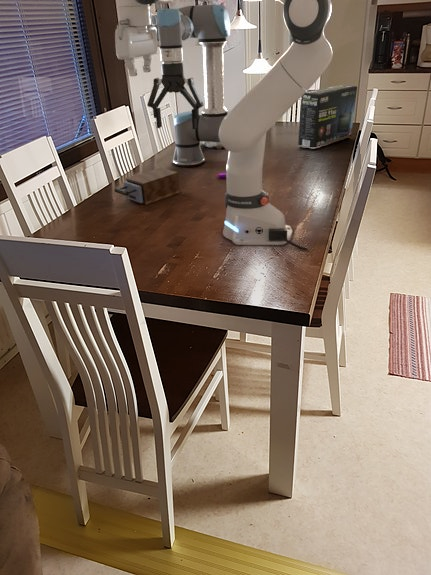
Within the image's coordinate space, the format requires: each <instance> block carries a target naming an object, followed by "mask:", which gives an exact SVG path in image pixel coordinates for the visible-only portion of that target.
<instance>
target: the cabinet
mask: <svg viewBox="0 0 431 575" xmlns="http://www.w3.org/2000/svg"><path fill="white" fill-rule="evenodd" d="M179 178H180V177H179V172H178V171H174V170H172V169H167V168H164V167H157V168H154V169H152V170H151V169H150V170H148V171H145V172H142V173H138V174H135V175H131V176H128V177H126V178H125V181H127V182H133V183H137V184H140V185H142V189H143V197H144V200H143V203H141V204H142V205H144V206H145V205H149V204H152V203H155V202H158V201H161V200H163V199H167V198H168V197H172V196H174V195H176V194H177V195H178V194H180V193H181V189H180V179H179Z"/></svg>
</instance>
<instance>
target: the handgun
mask: <svg viewBox="0 0 431 575" xmlns="http://www.w3.org/2000/svg"><path fill="white" fill-rule="evenodd" d="M217 178H218V179H226V172H225V173H224V172H223V173H221V172H220V173H217Z"/></svg>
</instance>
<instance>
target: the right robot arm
mask: <svg viewBox="0 0 431 575" xmlns="http://www.w3.org/2000/svg"><path fill="white" fill-rule="evenodd" d="M244 1H248V2H257V1H259V2H260V1H261V0H244ZM276 1H278V2H280V3H281V4H283V7H282V8H283V9H282V16H283V20H284V24H285V26H286V28H287V31H288V33H289V35H290V38H291V40H292V42H291V45H290V46H289V48H288V49H286V51H285V52H284V53H283V54H282V55H281V56H280V57H279V59H278V60H277V61H276V62H275V63H274V64H273V65H272V67H270V69H268V71H267V72H266V73H265V74H264V75H263V76H262V77H261V78H260V79H259V81H258V82H257V83H255V85H254V86H252V88H251V89H250V90H249V91H248V92H247V93H246V94H245V95H244V96H243V97H242V98H241V99H240V100H239V102H237V103H236V105H235V106H234V107H233V108H231V110H229V112H227V115H226V116H225V118H224V119H223V121H222V123H221V125H220V129H219V139H220V142H221V144H222V145H223V147H222V148H224V149H226V150H227V151H228V155H227V161H226V165H225V173H226V178H225V179H226V180H225V181H226V182H225V183H226V190H225V194H224V205H225V209H226V210H225V218H224V219H225V220H224V226H223V229H222V235H223V237H225V239H228V240H230V241H232V243H233V244H234V245H236V246H283V245H286V244H289V245H292V246H293V247H295V248H297V249H300V250H303V251H308V247H305V246H301V245H299V244H296V243H294V242H293V241H291V239H292V237H293V228H292V227H291V225H288V224H286V219H285V215H284V213H283V212H282V211H280V210H279V209H278V208H277V207H276V206H275V205H272V204H271V203H270V202H269V194H270V192H269V191H267V192H266V191H265V190H263V169H264V168H263V166H264V157H265V149H266V140H267V133H268V131H269V130H270V129H272V128H273V126H274V125H275V124H276V123H277V122H278V121H279V120H280V119H281V118H282V117H283V116H284V115H285V114H286V113H287V112H288V111H289V110H290V109H291V108H292V107H293V106H294V105H295V104H296V103H297V102H298V101H299V100H301V97H302V96H303V95H304V94H305V92H308V91H309V89H311V88H312V86H314V84H315V83H316V82H317V81H318V80H319V79H320V77H321V76H322V75H323V74H324V72H325V71H326V69H327V68H328V67H329V65H330V64H331V62H332V59H333V49H332V46H331V44H330V42H329V41H328V40H327V38H326V37H325V34H324V31H325V27H326V26H327V24H328V23H329V22H330V19H331V17H332V12H333V2H332V0H276ZM172 2H175V0H116V12H117V19H118V20H117V21H118V23H117V25H116V28H115V31H114V41H115V42H114V43H115V54H116V56H117V59H118V60H124V61H125V63H124V64H125V65H126V68H127V70H128V76H129V77H137V76H138V69H137V68H136V67H135V59H137V58H141V57H142V59H143V65H142V71H143V73H150V72H151V71H152V69H151V64H152V58H153V57H152V55H156V54H157V52H158V47H159V46H158V45H159V42H158V41H157V30H156V27H155V25H157V18H156V16H155V15H156V14H154V13H153V12H152V11H151V10H150V9H151V6H150V5H153V4H154V5H155V4H159V5H160V4H161V5H162V4H163V5H164V4H170V3H172Z"/></svg>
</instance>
